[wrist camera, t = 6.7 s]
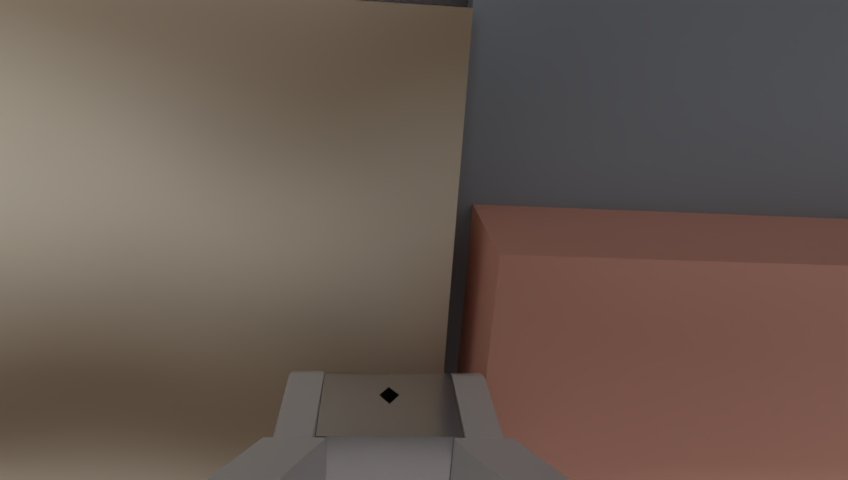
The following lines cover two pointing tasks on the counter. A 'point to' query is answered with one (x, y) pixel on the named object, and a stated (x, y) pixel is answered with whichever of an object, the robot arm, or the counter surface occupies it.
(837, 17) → the slate mat
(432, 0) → the counter surface
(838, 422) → the coral tile
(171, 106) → the plate
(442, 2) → the counter surface
